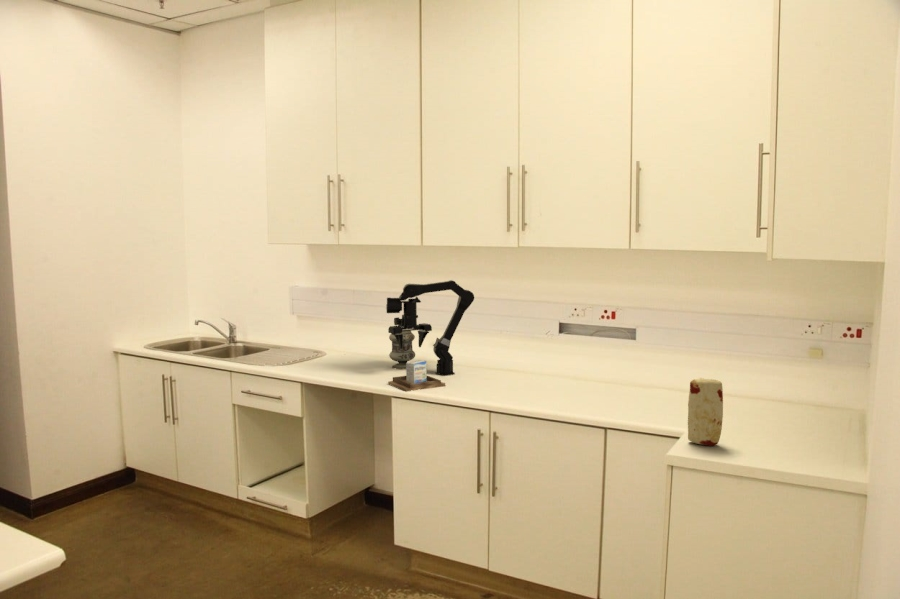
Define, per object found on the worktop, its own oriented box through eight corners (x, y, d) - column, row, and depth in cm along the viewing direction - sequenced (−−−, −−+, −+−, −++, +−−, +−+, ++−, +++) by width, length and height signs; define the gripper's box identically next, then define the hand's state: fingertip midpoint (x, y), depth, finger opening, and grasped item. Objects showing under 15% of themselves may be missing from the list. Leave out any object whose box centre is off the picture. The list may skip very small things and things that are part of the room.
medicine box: (414, 384, 286) (414, 363, 285) (406, 383, 288) (405, 362, 288) (426, 381, 292) (426, 360, 291) (418, 380, 294) (418, 359, 294)
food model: (685, 445, 208) (687, 378, 206) (688, 439, 214) (690, 374, 212) (720, 449, 204) (723, 381, 202) (723, 443, 210) (725, 377, 208)
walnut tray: (426, 378, 301) (426, 373, 301) (445, 385, 288) (445, 379, 287) (388, 383, 292) (388, 377, 292) (406, 391, 279) (405, 385, 278)
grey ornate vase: (403, 363, 336) (402, 326, 334) (420, 366, 327) (420, 328, 326) (384, 367, 327) (383, 329, 325) (401, 370, 319) (400, 331, 317)
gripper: (420, 309, 318) (420, 343, 320) (382, 312, 309) (383, 347, 310) (432, 312, 309) (432, 347, 310) (393, 315, 299) (394, 351, 301)
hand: (410, 348), depth 308 cm, fingers open, 9 cm apart
